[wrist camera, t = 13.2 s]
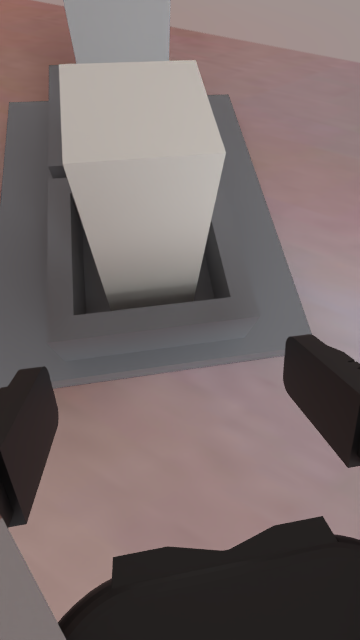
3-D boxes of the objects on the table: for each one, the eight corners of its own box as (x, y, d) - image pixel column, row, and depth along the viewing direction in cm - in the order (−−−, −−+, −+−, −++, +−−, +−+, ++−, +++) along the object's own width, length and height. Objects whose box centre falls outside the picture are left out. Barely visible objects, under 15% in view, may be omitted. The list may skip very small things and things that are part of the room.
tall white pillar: (179, 237, 20) (195, 60, 11) (193, 302, 19) (225, 152, 9) (105, 245, 20) (58, 64, 11) (111, 312, 18) (62, 164, 9)
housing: (225, 112, 28) (263, -93, 18) (304, 352, 19) (478, 228, 9) (17, 121, 26) (-79, -106, 16) (-2, 396, 17) (-257, 301, 7)
